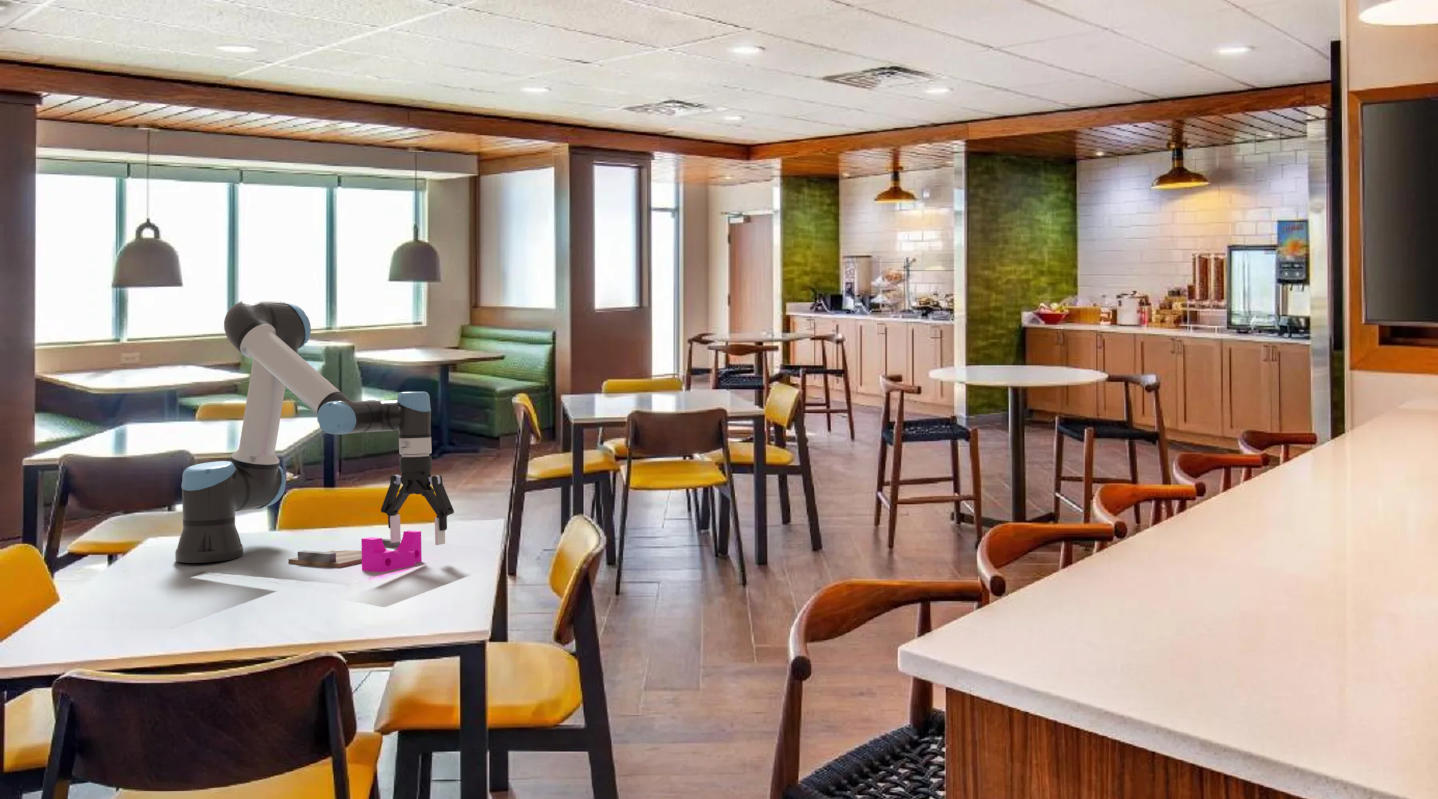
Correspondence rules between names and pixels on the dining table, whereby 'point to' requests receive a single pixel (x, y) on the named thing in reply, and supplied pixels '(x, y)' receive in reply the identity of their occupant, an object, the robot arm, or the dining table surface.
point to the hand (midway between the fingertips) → (417, 543)
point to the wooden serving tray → (333, 557)
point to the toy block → (391, 553)
